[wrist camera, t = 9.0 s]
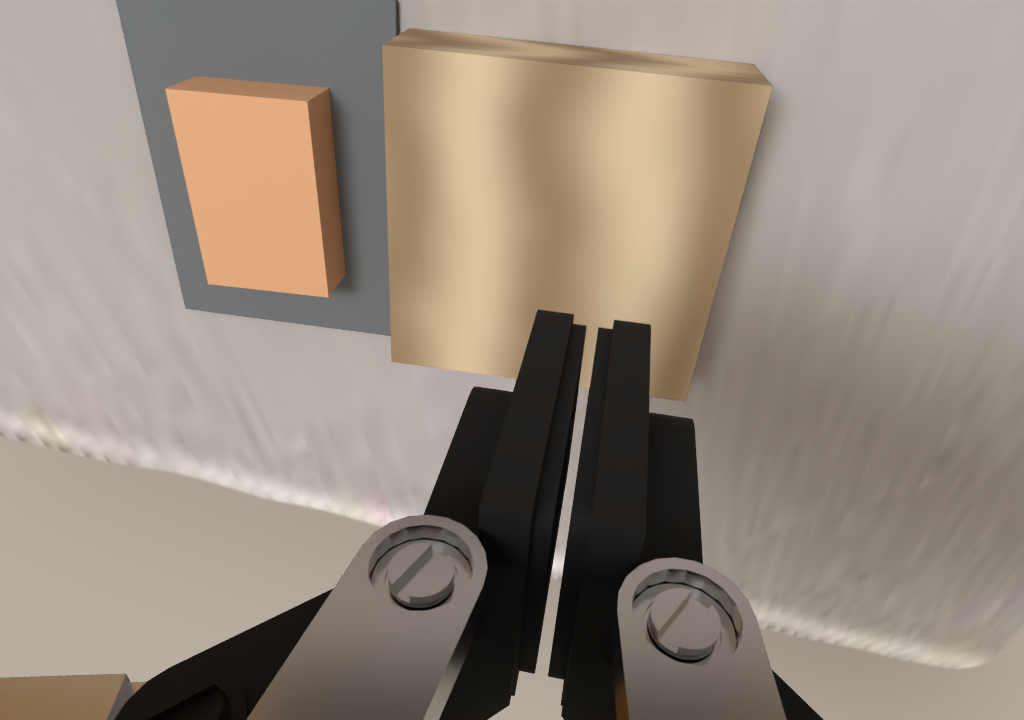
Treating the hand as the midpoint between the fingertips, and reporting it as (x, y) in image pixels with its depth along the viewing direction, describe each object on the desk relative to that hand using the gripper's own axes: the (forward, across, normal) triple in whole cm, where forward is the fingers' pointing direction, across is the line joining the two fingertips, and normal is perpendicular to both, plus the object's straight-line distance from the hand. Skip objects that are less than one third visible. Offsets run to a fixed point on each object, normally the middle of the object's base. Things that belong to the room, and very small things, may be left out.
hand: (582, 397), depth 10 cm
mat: (+21, +16, +6) cm, 27 cm away
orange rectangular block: (+18, +16, +6) cm, 25 cm away
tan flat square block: (+22, +2, +6) cm, 22 cm away
